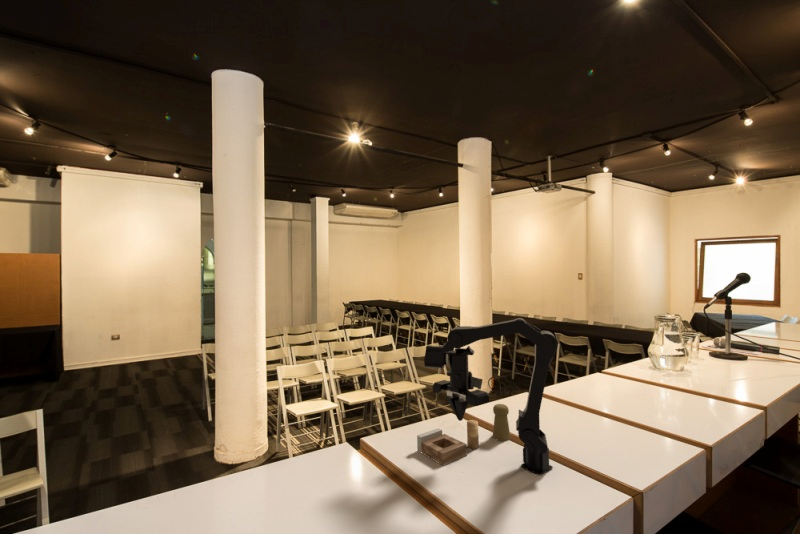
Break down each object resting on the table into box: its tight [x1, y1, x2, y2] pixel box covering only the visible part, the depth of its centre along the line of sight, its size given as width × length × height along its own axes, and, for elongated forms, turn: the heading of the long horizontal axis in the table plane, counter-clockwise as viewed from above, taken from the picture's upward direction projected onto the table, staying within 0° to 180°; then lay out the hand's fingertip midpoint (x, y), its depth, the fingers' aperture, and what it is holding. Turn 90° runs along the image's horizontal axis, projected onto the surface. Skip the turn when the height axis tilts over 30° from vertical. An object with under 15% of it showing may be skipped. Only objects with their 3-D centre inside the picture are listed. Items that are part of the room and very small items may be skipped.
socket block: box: [421, 433, 468, 466], centre depth 123 cm, size 10×10×4 cm
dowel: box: [466, 419, 480, 450], centre depth 128 cm, size 4×4×8 cm
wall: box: [416, 427, 443, 453], centre depth 127 cm, size 2×9×5 cm, turn 126°
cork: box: [492, 403, 512, 442], centre depth 134 cm, size 6×6×11 cm
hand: (460, 420), depth 119 cm, fingers closed
